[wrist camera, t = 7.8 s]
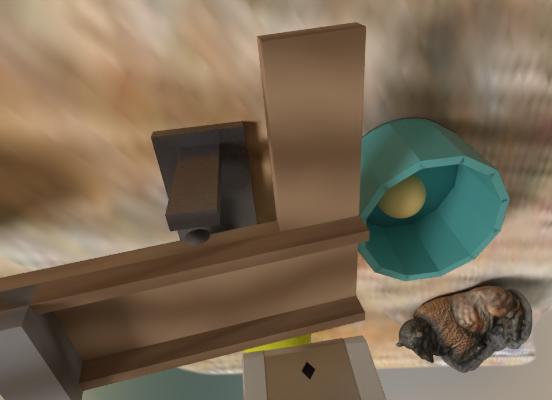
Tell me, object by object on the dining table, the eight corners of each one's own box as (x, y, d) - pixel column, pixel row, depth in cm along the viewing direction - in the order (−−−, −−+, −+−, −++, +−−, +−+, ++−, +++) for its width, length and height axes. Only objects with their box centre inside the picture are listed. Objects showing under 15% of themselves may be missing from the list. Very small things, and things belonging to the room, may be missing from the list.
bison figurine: (516, 282, 45) (463, 249, 41) (560, 334, 40) (503, 303, 35) (437, 340, 50) (382, 317, 46) (466, 395, 45) (406, 374, 40)
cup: (336, 126, 32) (360, 168, 26) (471, 110, 33) (524, 148, 27) (336, 234, 38) (355, 287, 33) (450, 219, 39) (489, 269, 33)
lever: (-131, 86, 17) (-222, 131, 13) (350, 19, 20) (396, 39, 16) (47, 354, 28) (26, 425, 24) (345, 283, 31) (372, 336, 27)
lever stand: (153, 131, 31) (125, 203, 23) (242, 121, 31) (248, 188, 23) (190, 264, 39) (179, 354, 30) (261, 255, 39) (270, 342, 31)
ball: (399, 156, 35) (366, 173, 33) (439, 174, 32) (405, 192, 30) (395, 195, 37) (364, 212, 35) (432, 214, 34) (401, 234, 32)
